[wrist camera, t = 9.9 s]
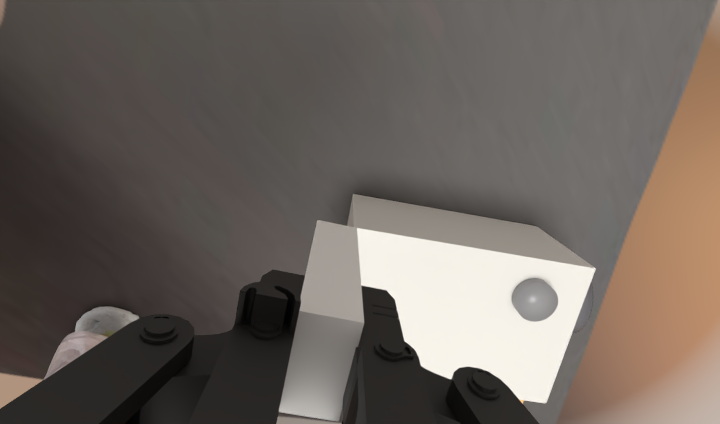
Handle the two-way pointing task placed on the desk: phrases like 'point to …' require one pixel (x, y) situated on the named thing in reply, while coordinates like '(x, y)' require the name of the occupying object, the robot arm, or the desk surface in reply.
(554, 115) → the desk surface
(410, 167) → the desk surface
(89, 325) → the figurine
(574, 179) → the desk surface
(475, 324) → the block
